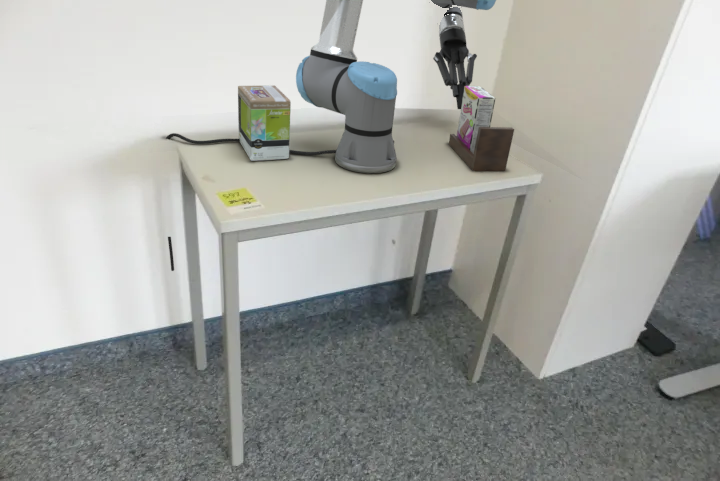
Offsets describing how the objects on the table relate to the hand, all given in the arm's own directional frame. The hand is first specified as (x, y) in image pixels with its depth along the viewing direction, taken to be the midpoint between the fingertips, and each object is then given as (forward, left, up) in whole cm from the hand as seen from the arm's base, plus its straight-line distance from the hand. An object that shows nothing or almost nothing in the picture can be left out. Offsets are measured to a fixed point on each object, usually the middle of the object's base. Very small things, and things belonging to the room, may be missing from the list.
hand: (461, 106), depth 159 cm
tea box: (-56, -12, -9) cm, 58 cm away
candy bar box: (0, -11, -9) cm, 14 cm away
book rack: (0, -15, -9) cm, 17 cm away
